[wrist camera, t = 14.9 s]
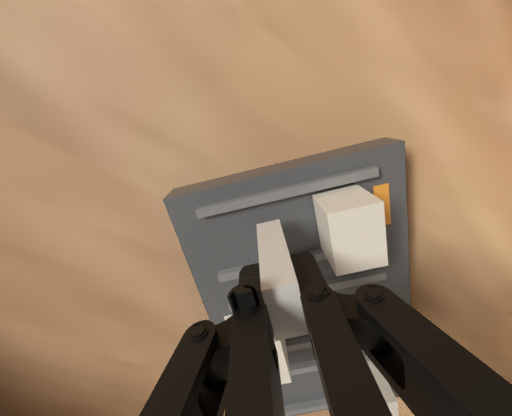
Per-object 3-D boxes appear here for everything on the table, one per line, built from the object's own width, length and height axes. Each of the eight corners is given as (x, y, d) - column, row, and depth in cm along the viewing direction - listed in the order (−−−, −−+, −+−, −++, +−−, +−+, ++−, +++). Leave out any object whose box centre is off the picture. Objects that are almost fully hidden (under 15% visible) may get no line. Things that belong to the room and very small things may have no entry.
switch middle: (250, 347, 21) (250, 390, 18) (237, 310, 20) (235, 349, 17) (285, 340, 21) (291, 382, 18) (275, 303, 20) (280, 340, 16)
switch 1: (321, 247, 18) (336, 276, 15) (311, 194, 17) (326, 214, 13) (363, 237, 18) (388, 265, 15) (357, 184, 17) (383, 201, 13)
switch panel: (250, 397, 27) (250, 430, 25) (173, 189, 19) (159, 202, 16) (399, 369, 26) (417, 400, 24) (385, 137, 18) (410, 141, 15)
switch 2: (346, 395, 24) (362, 440, 20) (341, 365, 22) (357, 408, 19) (379, 389, 23) (400, 434, 20) (375, 358, 22) (397, 401, 19)
